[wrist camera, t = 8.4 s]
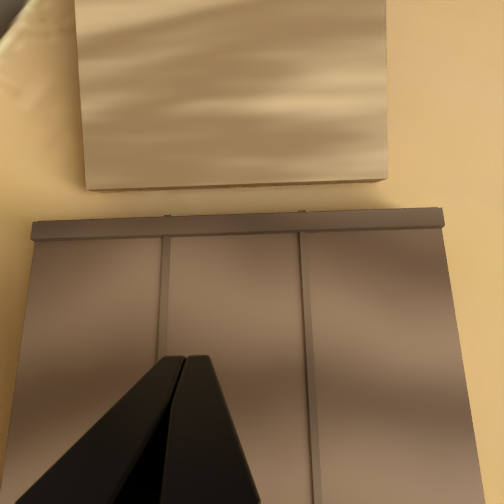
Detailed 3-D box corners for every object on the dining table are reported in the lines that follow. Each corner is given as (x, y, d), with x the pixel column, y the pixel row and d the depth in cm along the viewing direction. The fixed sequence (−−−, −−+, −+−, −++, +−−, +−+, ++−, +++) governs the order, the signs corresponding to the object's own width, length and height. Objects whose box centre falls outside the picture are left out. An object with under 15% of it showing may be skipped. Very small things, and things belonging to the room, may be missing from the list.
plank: (387, 178, 20) (383, -197, 19) (85, 189, 21) (63, -175, 20) (377, 181, 22) (372, -159, 21) (101, 192, 23) (82, -139, 22)
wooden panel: (482, 623, 17) (515, 659, 14) (10, 623, 17) (-30, 657, 15) (423, 223, 22) (441, 203, 19) (57, 235, 22) (33, 217, 20)
